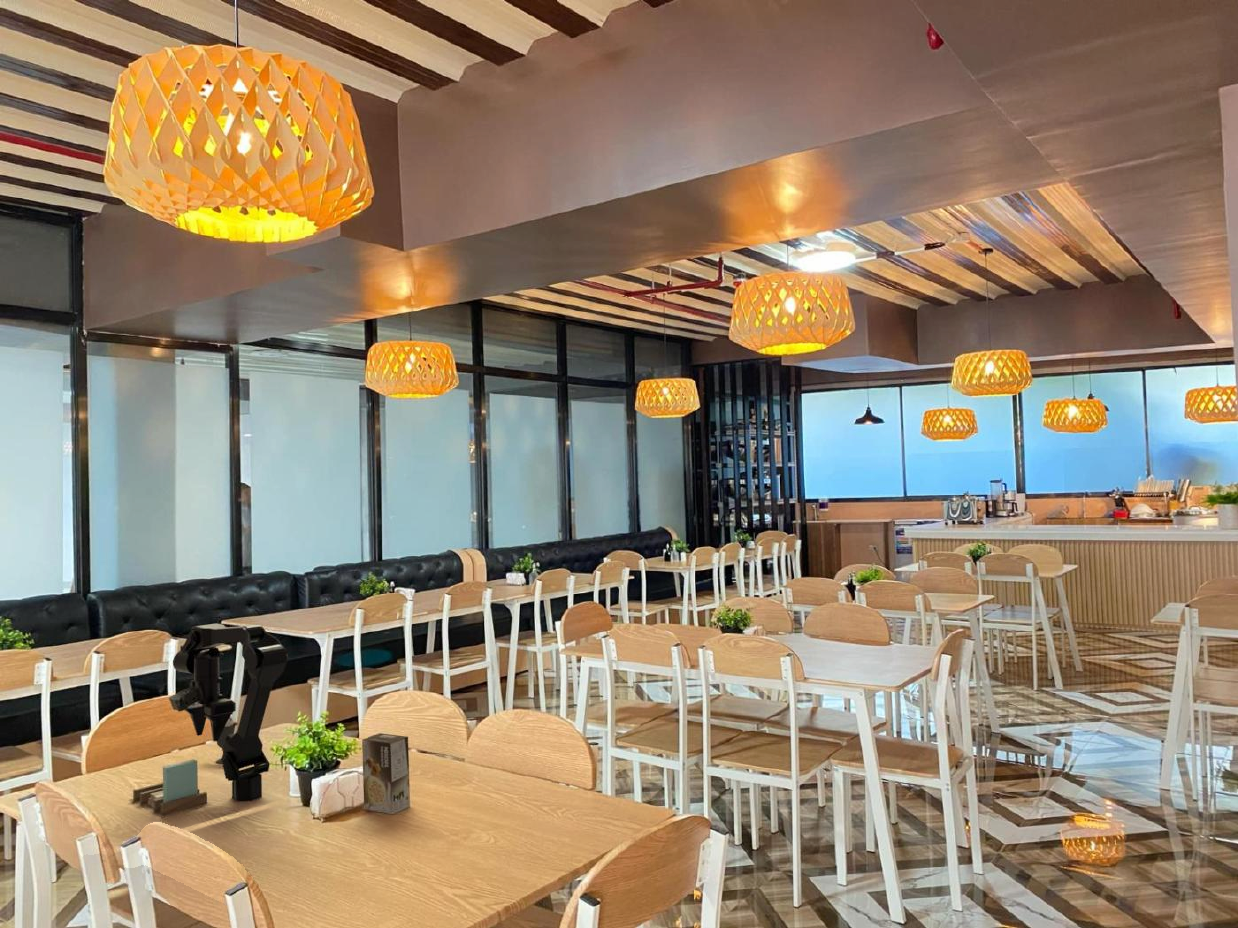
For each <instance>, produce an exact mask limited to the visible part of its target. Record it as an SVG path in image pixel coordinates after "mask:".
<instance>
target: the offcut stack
mask: <svg viewBox="0 0 1238 928" xmlns="http://www.w3.org/2000/svg"><path fill="white" fill-rule="evenodd" d="M160 798H163V791H159V792H155V793H151V798H149V801H148V805H150V806H152V807H154V801H153V800H156V799H160Z"/></svg>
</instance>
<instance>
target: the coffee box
mask: <svg viewBox="0 0 1238 928" xmlns="http://www.w3.org/2000/svg"><path fill="white" fill-rule="evenodd" d="M361 744H362V745H361V746H362V749H361V750H362V780H363V781H362V783H363V786H362V787H363V809H364V810H367V811H372V812H378V813H384V814H389V815H395V814H396V813H398V812H399V813H400V812H401V811H403V810H405V809H407V808H409V807H410V806H411V792H410V758H409V736H405V735H398V734H388V733H381V732H380V733H376V734H373V735H371V736H368V737H366V738H363V739H362V740H361Z"/></svg>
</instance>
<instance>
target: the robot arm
mask: <svg viewBox="0 0 1238 928" xmlns="http://www.w3.org/2000/svg"><path fill="white" fill-rule="evenodd" d="M254 642H257V643H258V644H260V645H262V647H257V648H254V649H253V647H252V646H251V643H254ZM236 643H238V644H239V643H240V644H241V646H242V648H241V657H242V658H243V659H244V661H245V662H246V663H247V664H246V665H247V666H246V671H247V673H248V675H249V678H250V682H249V686H248V690H247V693H246V696H245V701H244V704H243V709H242V712H241V716H240V720H239V723H238V727H237V730H236V732H234V734H231V735H228V736H227V737H226V739H225V744H224V747H223V749H222V748H221V751H222V754H221V758H222V763H221V764H222V768H223V772H224V776H225V779H226V780H227V781H228V782H231V790H232V791H231V796H232V799H234V801H236V802H247V801H248V802H252V801H255V800H258V799H260V798H262V797H263V788H262V787H263V781H262V776H263V775H262V774H263V773H268V772H269V769H270V765H271V763H270V761H269V760H268V758H267V756H266V754H265V753H264V751H263V743H262V741H261V738H260V731H261V728H262V724H263V721H264V717H265V713H266V710H267V706H268V701H269V699H270V695H271V690H272V688H273V684H274V683H275V682H276V680H278V679H279V678H280V677H281V675H282V674H283V672H284V671H285V669H286V667H287V663H288V661H289V660H288V659H289V654H288V651H287V649H286V647H285V646H284V645H283V644H282V642H281V640H279V639H278V638H277V637H276V636H274V635H272V634H270V633H269V632H267V630H265V628H264V627H263V626H262V625H260V624H250V625H242V626H229V627H228V626H225V625H224V624H222V623H221V624H220V623H211V624H210V623H209V624H203V625H196V626H195V625H194V626H192V627H191V628H190V632H188V635H187V637H186V639H185V641H184V644H183V645H180V650H179V651H177V653H175V656H174V657H173V660H172V665H173V666H172V667H173V668H174V669H175V670H176V671H177V672H179V673H187V674H192V675H193V679H191V680H190V682H189V687H187V688H184V689H181V690H180V691H178V692H176V693H175V694H172V695H170V696H169V697H168V700H169V702H170V704H171V707H172V709H173V710H174V711H175V710H176V711H177V712H182V711H185V712H186V713H187V714H189V716H190V718H191V721H192V724H193V727H194V731H195V734H196V736H198V737H199V736H202V735H203V732H204V729H205V726H206V721H207V720H209V722H210V727H211V729H210V731H211V736H212V740H213V742H217V741H218V740H219V738H220V736H221V734H222V732H223V729H224V727H225V725H226V723H227V721H228V719H229V718H230V716H231V717H232V715H234V712H236V707H237V706H236V702H235V701H233V699H228V698H224V696H223V694H220V684H221V683H223V682H224V681H223V677H220V658H223V657H224V653H223V652H222V651H221V650H220V649H219V648H218V647H219V646H222V645H224V644H225V645H226V644H236Z"/></svg>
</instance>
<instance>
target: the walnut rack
mask: <svg viewBox="0 0 1238 928" xmlns="http://www.w3.org/2000/svg"><path fill="white" fill-rule="evenodd" d="M159 791H163V782H159V783H156V784H152V785H147V786H144V787H140V788H136V789H133V790H132V793H133V794H132V798H131V799H129V801H130V802H132V803H133V804H136V806H137V805H138V806H139V807H142V808H143V809H145V810H147V811H148V812H151V813H153V814H155V815H157V816H159V817H161V818H162V819H164V818H169V817H171V816H176V815H179V814H182V813H185V812H189V811H193V810H197V809H200V808H204V807H208V806H211V805H212V803H210V802H209V801H208V793H207V792H206V791H203V792H200V789H199V788H198V794H195V795H191V796H187V797H184V798H180V799H176V800H172V801H169V802H165V803H163V798H160V799H156V800H153V801H154V807H152V806H150V805H148V801H149V798H151V793H155V792H159Z"/></svg>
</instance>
